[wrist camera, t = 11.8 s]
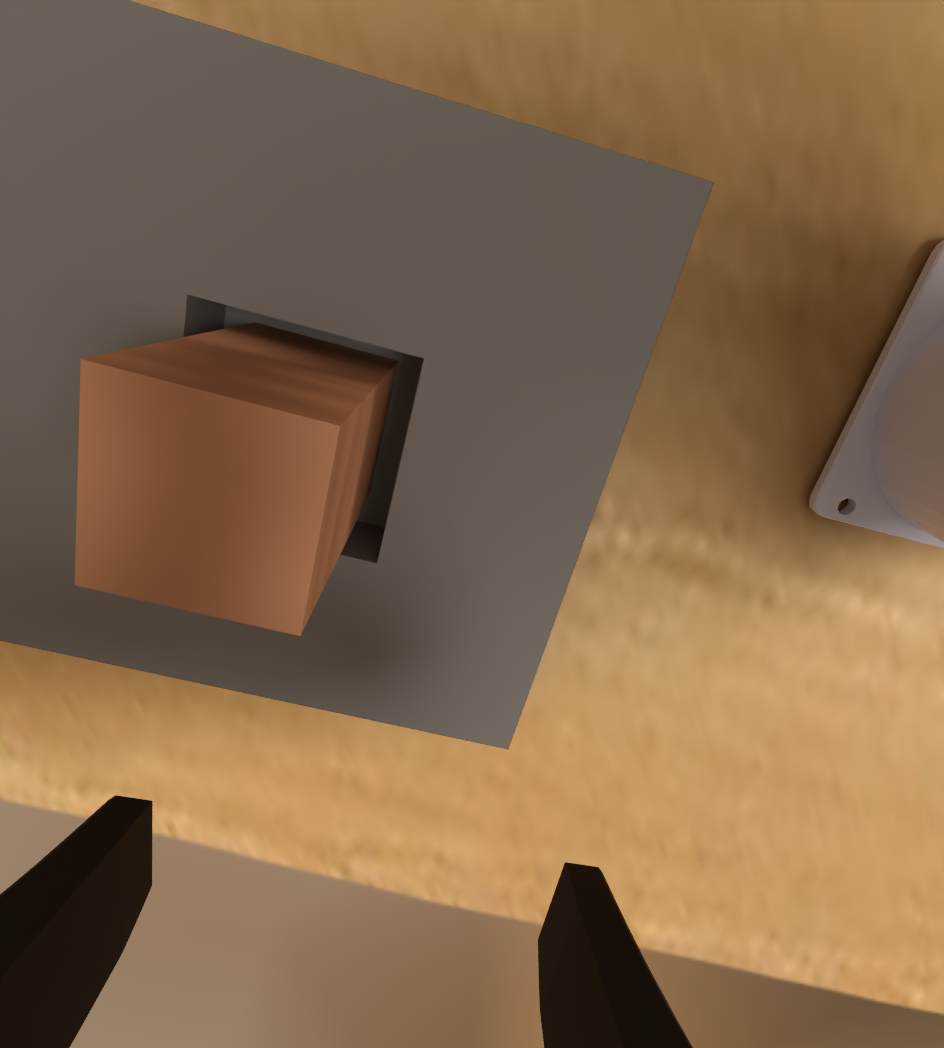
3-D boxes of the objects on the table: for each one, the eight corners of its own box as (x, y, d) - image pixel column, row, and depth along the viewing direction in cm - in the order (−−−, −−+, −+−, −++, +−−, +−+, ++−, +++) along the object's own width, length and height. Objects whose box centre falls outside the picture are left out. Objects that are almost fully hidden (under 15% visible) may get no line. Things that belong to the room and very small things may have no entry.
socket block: (672, 198, 16) (713, 182, 13) (504, 689, 22) (508, 749, 19) (40, 4, 15) (-63, -60, 12) (39, 585, 20) (-30, 633, 18)
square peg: (398, 360, 17) (339, 426, 10) (370, 492, 19) (300, 636, 11) (255, 322, 17) (81, 359, 9) (237, 459, 18) (74, 584, 11)
